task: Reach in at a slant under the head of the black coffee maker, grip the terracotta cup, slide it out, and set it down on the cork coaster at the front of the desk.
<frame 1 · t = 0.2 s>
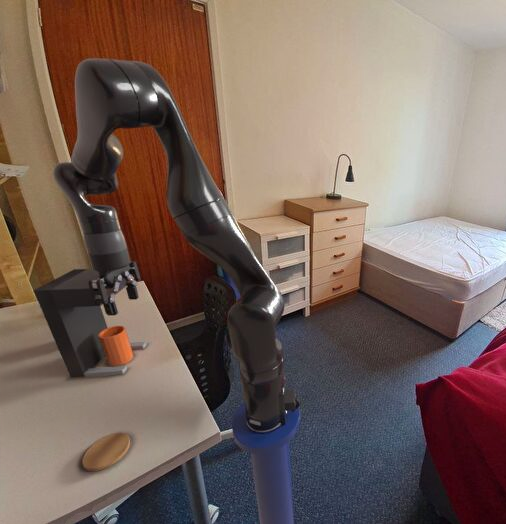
hand: (124, 306, 74), 20 cm above the table, tool pointing down, fingers open, 8 cm apart
coaster: (107, 452, 59), on the table
cup: (121, 359, 84), on the table
coffee maker: (111, 360, 84), on the table
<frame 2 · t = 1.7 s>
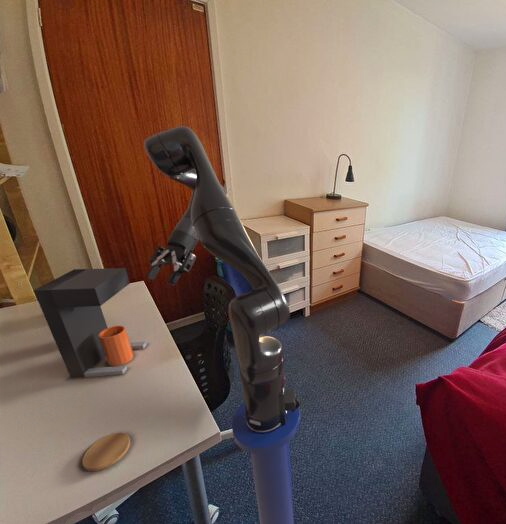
hand: (160, 281, 83), 23 cm above the table, tool tilted 45°, fingers open, 8 cm apart
nothing on the table moved.
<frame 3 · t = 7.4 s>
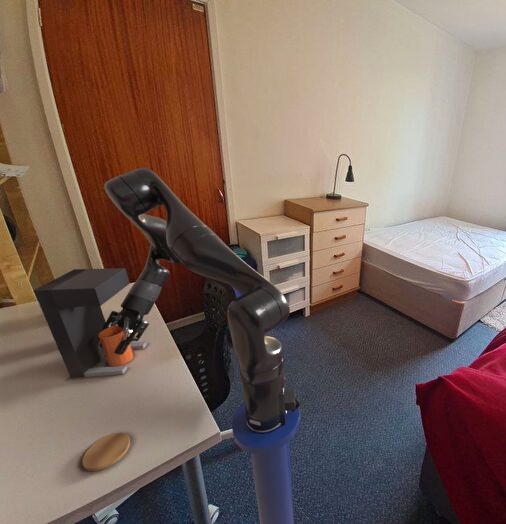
hand: (110, 350, 81), 5 cm above the table, tool tilted 45°, fingers closed on cup, 6 cm apart
cup: (121, 359, 84), on the table, touching gripper
everything else where it was.
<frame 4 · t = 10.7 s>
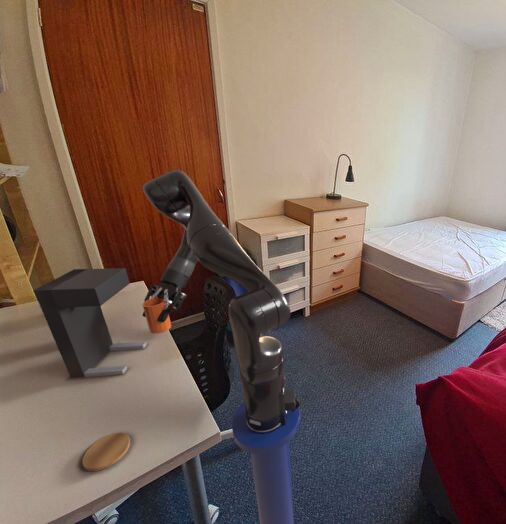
hand: (152, 319, 90), 8 cm above the table, tool tilted 45°, fingers closed on cup, 6 cm apart
cup: (160, 328, 93), point 4 cm above the table, touching gripper
everything else where it was.
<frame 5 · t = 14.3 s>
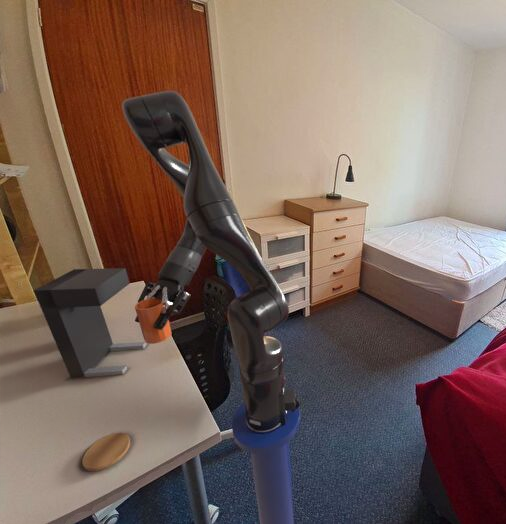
hand: (148, 325, 70), 18 cm above the table, tool tilted 45°, fingers closed on cup, 6 cm apart
cup: (158, 336, 74), point 13 cm above the table, touching gripper
everything else where it was.
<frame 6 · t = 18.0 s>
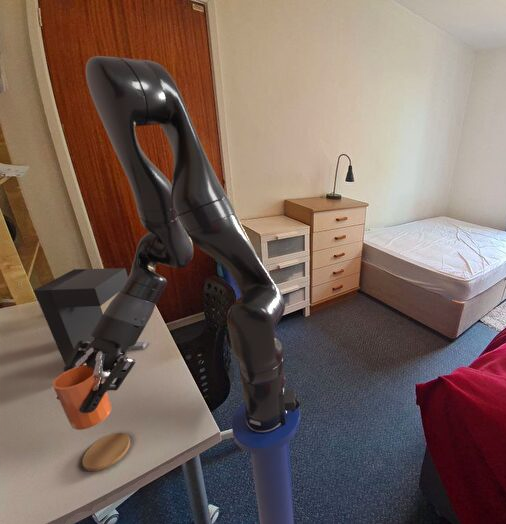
hand: (74, 405, 52), 15 cm above the table, tool tilted 45°, fingers closed on cup, 6 cm apart
cup: (92, 415, 55), point 11 cm above the table, touching gripper
everything else where it was.
when the fingers open (5 cm above the table, at t = 21.2 s): cup stays where it is, resting on coaster.
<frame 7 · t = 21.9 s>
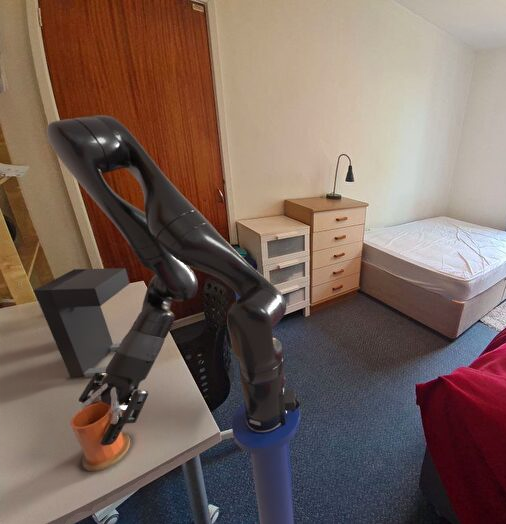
hand: (92, 436, 55), 6 cm above the table, tool tilted 45°, fingers open, 8 cm apart
cup: (106, 449, 58), point 1 cm above the table, touching coaster
everything else where it was.
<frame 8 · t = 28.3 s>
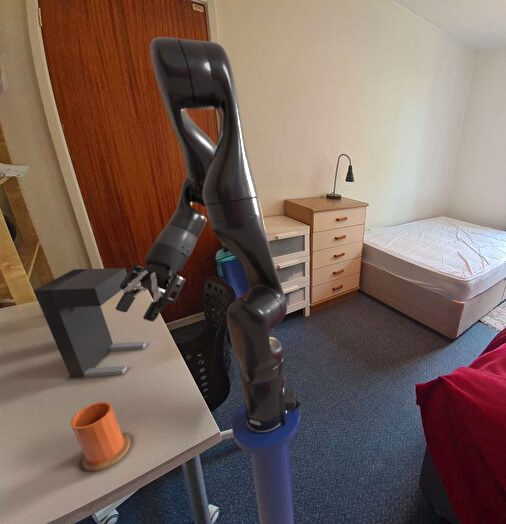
hand: (134, 315, 59), 27 cm above the table, tool tilted 45°, fingers open, 8 cm apart
nothing on the table moved.
at the end: cup 0.2 cm off-centre on the coaster, point 0.8 cm above the coaster's base; cup tilted 0°; the gripper is holding nothing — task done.
